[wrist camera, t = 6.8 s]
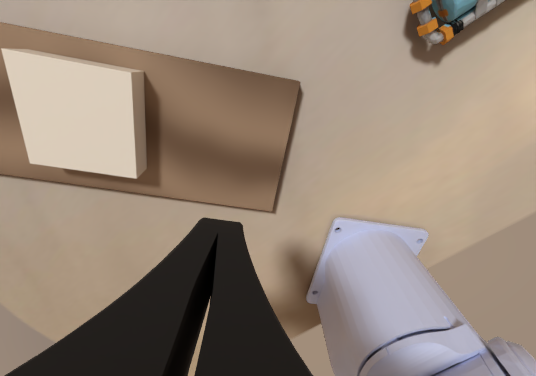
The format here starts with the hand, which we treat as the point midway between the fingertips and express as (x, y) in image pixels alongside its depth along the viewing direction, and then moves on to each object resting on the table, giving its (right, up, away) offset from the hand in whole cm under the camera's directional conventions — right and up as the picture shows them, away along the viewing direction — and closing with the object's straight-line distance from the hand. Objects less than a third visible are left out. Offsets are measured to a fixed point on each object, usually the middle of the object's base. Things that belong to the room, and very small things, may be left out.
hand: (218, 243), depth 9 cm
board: (-7, +6, +8) cm, 12 cm away
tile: (-6, +5, +6) cm, 10 cm away
